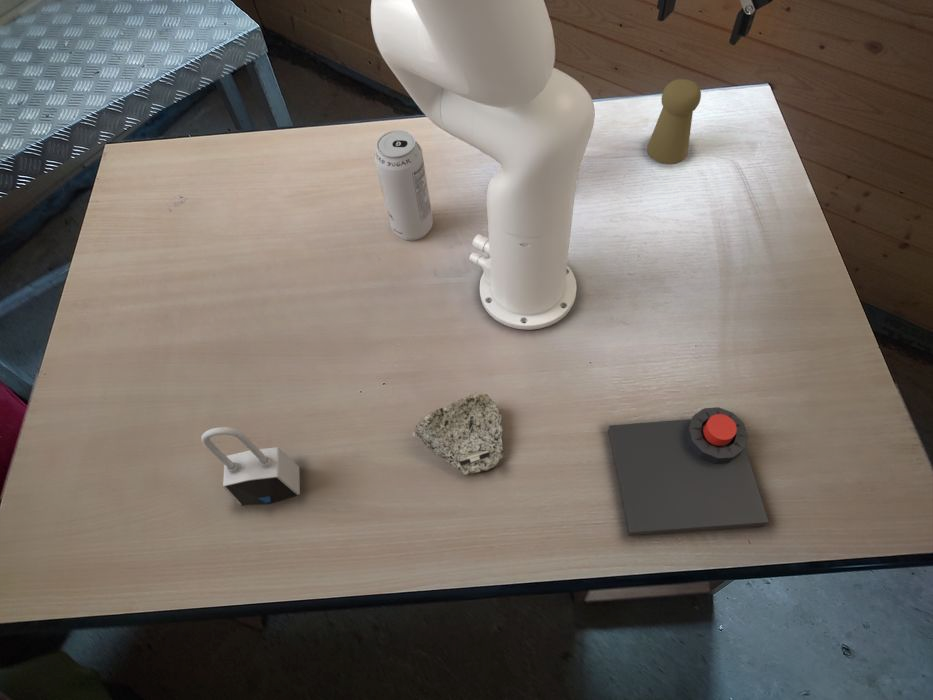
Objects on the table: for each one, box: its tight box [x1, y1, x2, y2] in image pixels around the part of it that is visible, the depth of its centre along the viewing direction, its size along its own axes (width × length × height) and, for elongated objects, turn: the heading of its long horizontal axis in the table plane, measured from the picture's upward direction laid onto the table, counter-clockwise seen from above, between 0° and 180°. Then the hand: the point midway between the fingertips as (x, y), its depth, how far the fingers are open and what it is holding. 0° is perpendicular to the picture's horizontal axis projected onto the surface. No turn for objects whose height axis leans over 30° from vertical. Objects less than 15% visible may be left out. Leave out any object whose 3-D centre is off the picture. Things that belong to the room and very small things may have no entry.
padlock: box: [200, 426, 301, 506], centre depth 63 cm, size 7×4×15 cm, turn 99°
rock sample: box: [412, 392, 506, 476], centre depth 69 cm, size 10×8×9 cm
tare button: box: [703, 414, 737, 446], centre depth 66 cm, size 3×3×2 cm
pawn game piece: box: [646, 78, 702, 165], centre depth 89 cm, size 6×6×11 cm
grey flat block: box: [607, 406, 770, 537], centre depth 66 cm, size 14×12×3 cm
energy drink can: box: [374, 129, 434, 241], centre depth 83 cm, size 6×6×15 cm
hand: (700, 27), depth 78 cm, fingers open, 9 cm apart
